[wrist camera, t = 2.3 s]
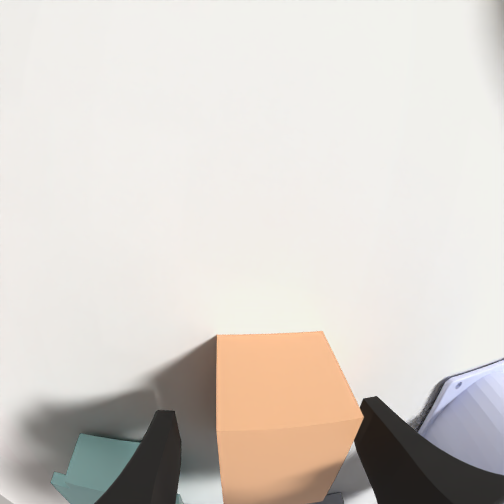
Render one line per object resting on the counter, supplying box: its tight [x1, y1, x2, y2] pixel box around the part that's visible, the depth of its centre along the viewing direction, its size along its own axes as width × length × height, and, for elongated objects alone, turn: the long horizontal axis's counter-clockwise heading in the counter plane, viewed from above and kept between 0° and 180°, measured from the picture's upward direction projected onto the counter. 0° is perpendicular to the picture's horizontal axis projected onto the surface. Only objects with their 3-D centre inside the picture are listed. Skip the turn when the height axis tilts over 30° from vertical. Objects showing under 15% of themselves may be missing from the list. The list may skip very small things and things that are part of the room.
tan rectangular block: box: [216, 331, 364, 504], centre depth 10 cm, size 4×6×5 cm, turn 178°
